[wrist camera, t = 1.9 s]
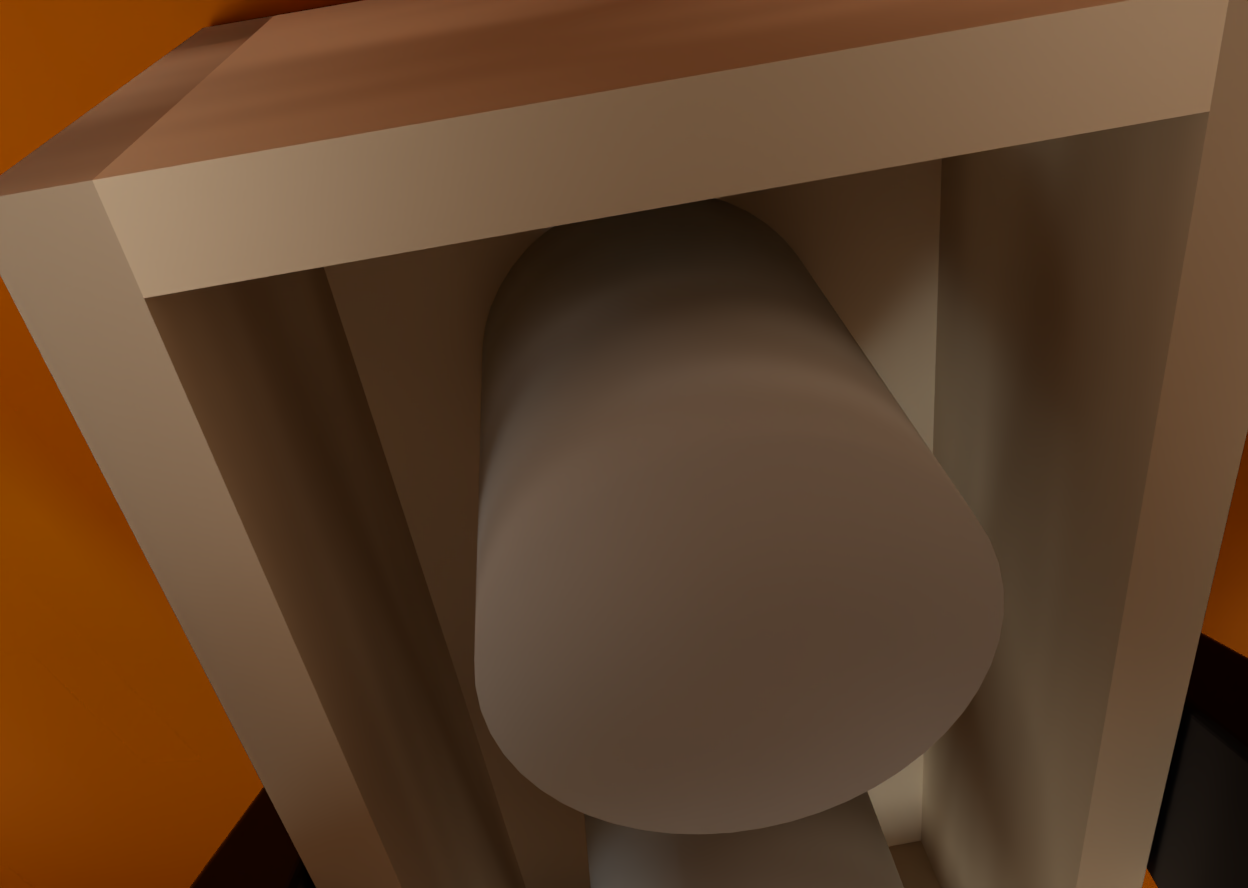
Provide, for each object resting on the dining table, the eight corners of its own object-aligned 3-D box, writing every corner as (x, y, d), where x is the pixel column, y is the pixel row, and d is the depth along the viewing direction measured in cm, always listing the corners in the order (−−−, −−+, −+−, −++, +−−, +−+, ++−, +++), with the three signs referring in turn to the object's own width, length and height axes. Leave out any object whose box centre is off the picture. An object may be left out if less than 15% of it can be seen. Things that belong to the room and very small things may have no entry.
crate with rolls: (974, -105, 9) (1439, -25, 4) (935, 800, 15) (1108, 1185, 11) (203, 28, 8) (-91, 241, 4) (499, 881, 15) (500, 1302, 11)
